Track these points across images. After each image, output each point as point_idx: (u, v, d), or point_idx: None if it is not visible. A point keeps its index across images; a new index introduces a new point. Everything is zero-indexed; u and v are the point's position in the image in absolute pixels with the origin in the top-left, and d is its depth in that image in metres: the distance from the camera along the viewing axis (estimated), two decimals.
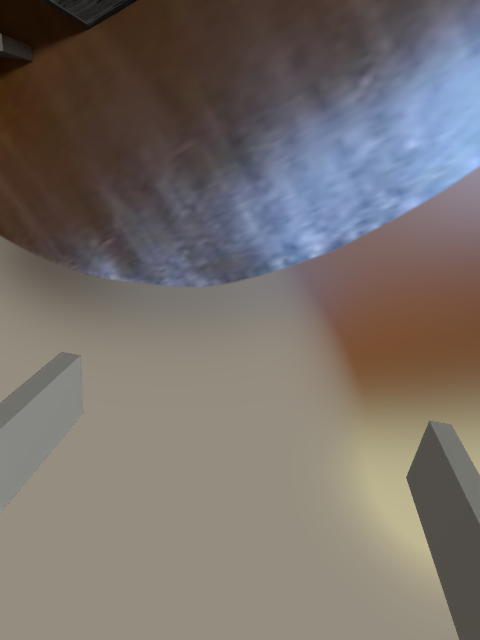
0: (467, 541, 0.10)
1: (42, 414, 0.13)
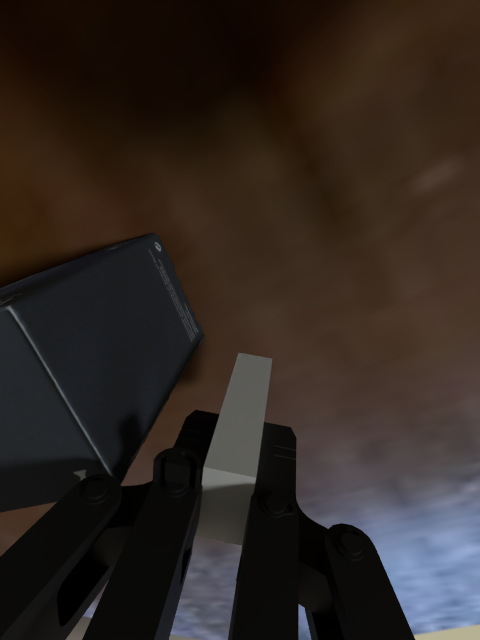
0: None
1: None
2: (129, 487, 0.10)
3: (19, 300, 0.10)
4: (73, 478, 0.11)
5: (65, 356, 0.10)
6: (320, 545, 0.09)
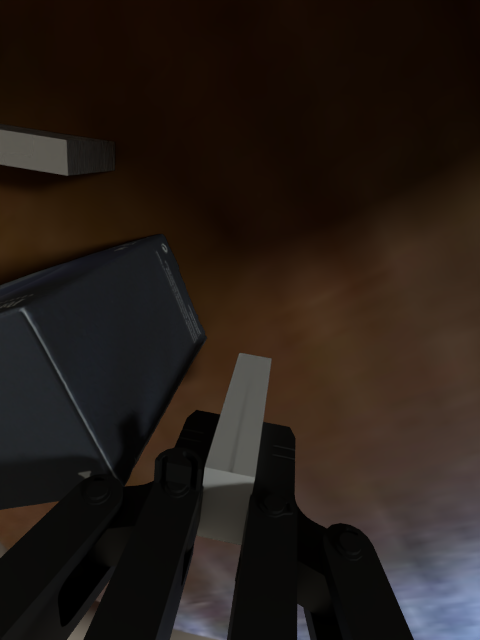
0: None
1: None
2: (130, 487, 0.10)
3: (32, 302, 0.10)
4: (77, 478, 0.11)
5: (75, 357, 0.11)
6: (319, 545, 0.09)
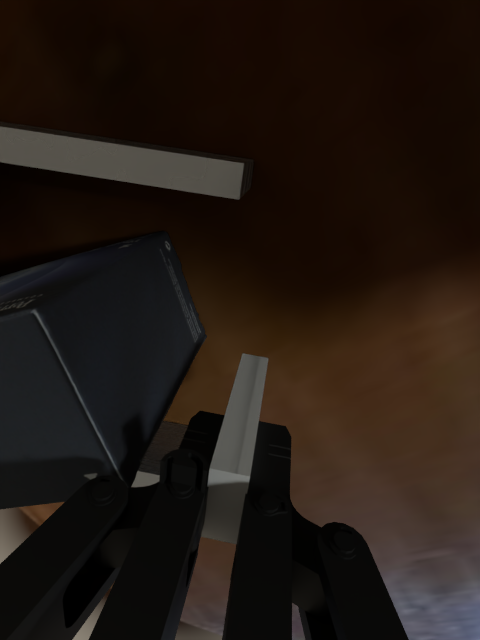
0: None
1: None
2: (135, 488, 0.10)
3: (43, 303, 0.10)
4: (83, 480, 0.11)
5: (84, 360, 0.10)
6: (313, 544, 0.09)
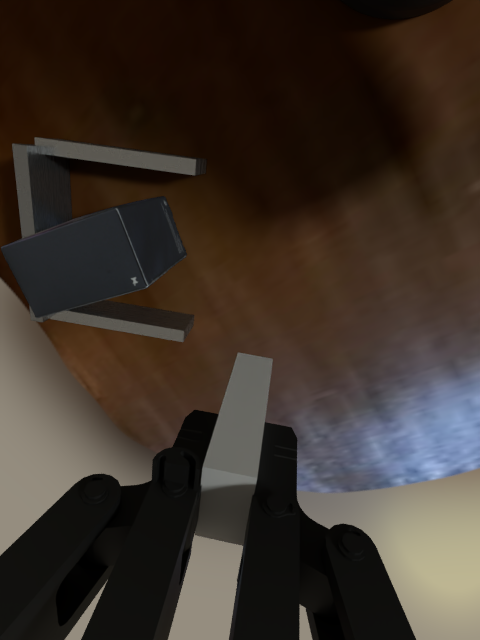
0: None
1: None
2: (128, 487, 0.10)
3: (118, 207, 0.27)
4: (130, 281, 0.28)
5: (131, 231, 0.28)
6: (321, 545, 0.09)
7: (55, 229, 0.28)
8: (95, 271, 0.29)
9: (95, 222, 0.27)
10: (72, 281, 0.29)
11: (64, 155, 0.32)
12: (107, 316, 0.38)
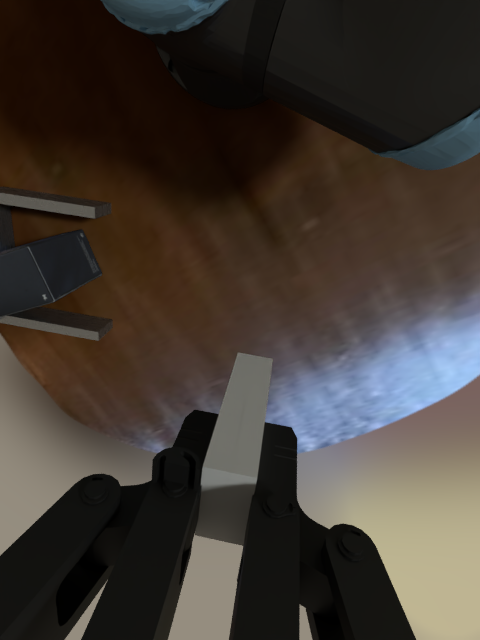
0: None
1: None
2: (128, 487, 0.10)
3: (30, 245, 0.38)
4: (41, 297, 0.40)
5: (41, 262, 0.39)
6: (321, 545, 0.09)
7: None
8: (16, 289, 0.40)
9: (14, 256, 0.39)
10: (1, 297, 0.40)
11: (0, 202, 0.43)
12: (41, 320, 0.49)
